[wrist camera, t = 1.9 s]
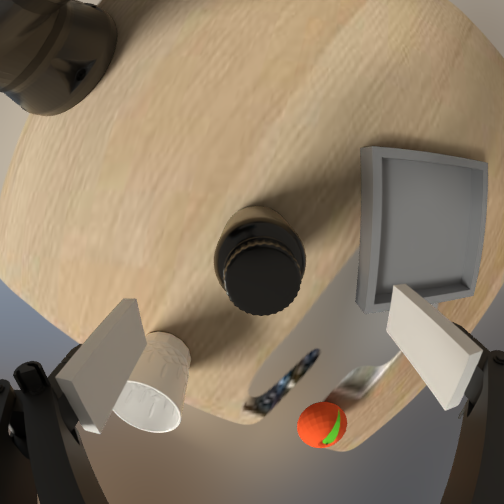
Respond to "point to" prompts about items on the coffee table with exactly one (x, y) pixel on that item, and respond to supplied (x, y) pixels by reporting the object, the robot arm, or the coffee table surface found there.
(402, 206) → the tray
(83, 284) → the coffee table surface
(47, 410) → the robot arm
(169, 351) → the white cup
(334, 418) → the clementine
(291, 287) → the supplement bottle
